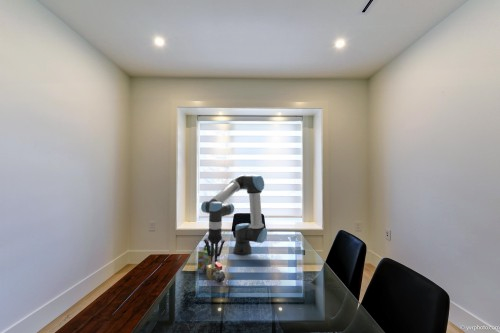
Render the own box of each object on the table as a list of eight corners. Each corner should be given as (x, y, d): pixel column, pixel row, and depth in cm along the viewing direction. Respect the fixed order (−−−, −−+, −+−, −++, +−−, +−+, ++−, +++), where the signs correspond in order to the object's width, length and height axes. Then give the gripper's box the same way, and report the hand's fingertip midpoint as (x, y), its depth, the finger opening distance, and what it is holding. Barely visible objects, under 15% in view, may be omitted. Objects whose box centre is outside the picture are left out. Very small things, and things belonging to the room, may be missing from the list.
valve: (201, 273, 146) (201, 260, 146) (210, 270, 150) (210, 257, 150) (215, 284, 132) (216, 269, 132) (225, 281, 136) (225, 266, 136)
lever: (209, 262, 141) (209, 258, 141) (214, 261, 143) (214, 257, 143) (217, 271, 129) (217, 266, 129) (223, 269, 131) (223, 265, 131)
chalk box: (197, 268, 152) (197, 247, 153) (203, 263, 161) (203, 243, 161) (209, 270, 150) (209, 248, 150) (215, 265, 159) (215, 244, 159)
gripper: (202, 228, 130) (201, 269, 130) (224, 230, 129) (222, 271, 128) (206, 225, 137) (205, 263, 137) (226, 227, 136) (225, 265, 136)
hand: (213, 267), depth 133 cm, fingers closed
